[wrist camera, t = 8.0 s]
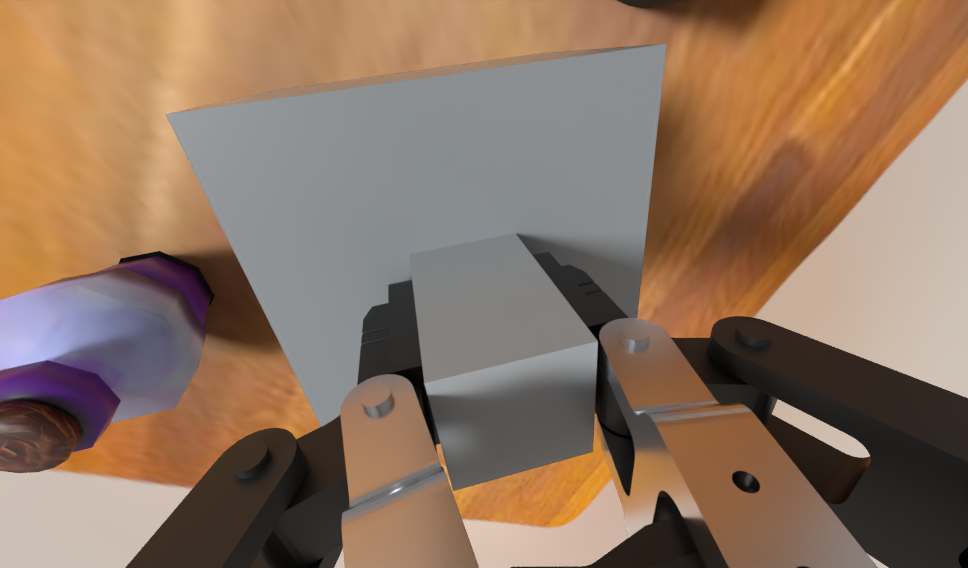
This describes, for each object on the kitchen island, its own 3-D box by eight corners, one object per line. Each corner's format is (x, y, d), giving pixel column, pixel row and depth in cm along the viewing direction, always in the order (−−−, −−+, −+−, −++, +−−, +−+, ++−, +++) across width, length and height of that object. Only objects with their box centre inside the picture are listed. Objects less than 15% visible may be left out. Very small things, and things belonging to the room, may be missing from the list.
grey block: (273, 90, 15) (-95, 172, 4) (541, 53, 17) (903, 25, 5) (354, 318, 21) (313, 635, 9) (549, 275, 22) (726, 506, 11)
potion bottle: (40, 278, 23) (-234, 451, 13) (152, 199, 22) (-45, 318, 12) (172, 364, 27) (47, 542, 17) (269, 301, 27) (198, 449, 17)
